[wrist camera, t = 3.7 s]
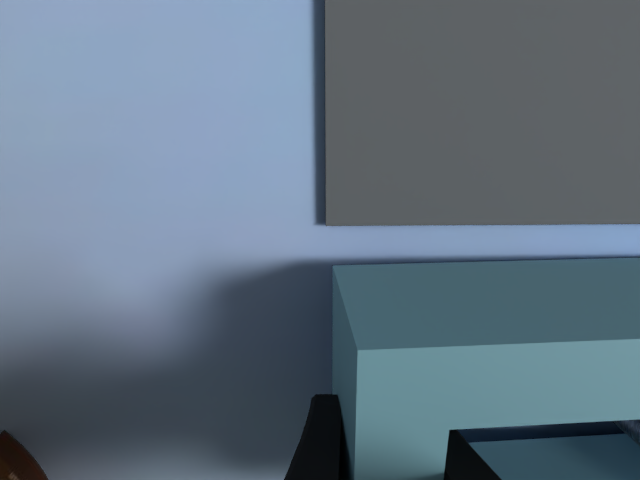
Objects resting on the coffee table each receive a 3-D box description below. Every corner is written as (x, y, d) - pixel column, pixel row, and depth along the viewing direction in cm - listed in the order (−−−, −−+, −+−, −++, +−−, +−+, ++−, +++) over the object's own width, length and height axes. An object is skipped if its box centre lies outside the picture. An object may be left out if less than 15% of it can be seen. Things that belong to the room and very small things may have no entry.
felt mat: (765, 220, 9) (779, 222, 9) (325, 223, 9) (325, 225, 9) (903, -174, 7) (928, -188, 7) (324, -163, 7) (324, -176, 7)
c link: (331, 488, 11) (349, 674, 7) (332, 265, 9) (357, 350, 5) (662, 467, 11) (850, 626, 7) (733, 255, 9) (1039, 322, 5)
